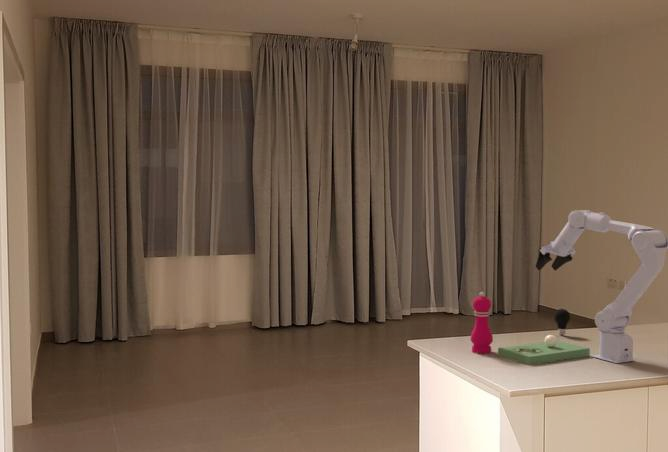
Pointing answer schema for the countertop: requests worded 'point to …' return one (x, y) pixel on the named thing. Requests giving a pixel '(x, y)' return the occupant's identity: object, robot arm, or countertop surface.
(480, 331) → the pepper mill
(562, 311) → the light bulb
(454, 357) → the countertop surface
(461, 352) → the countertop surface
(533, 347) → the putting mat
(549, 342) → the golf ball
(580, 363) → the countertop surface
